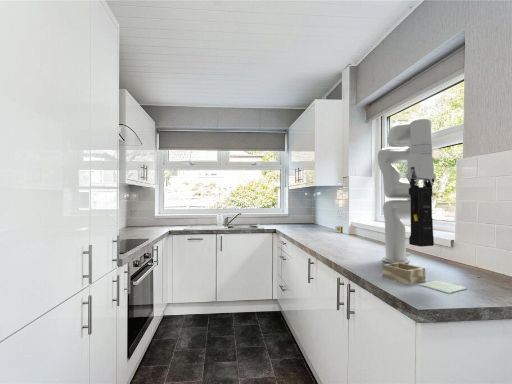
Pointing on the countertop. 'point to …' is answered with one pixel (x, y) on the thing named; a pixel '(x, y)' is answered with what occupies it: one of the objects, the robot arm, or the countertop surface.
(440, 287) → the rubber mat
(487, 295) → the countertop surface
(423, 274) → the wooden pocket
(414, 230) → the portable radio
